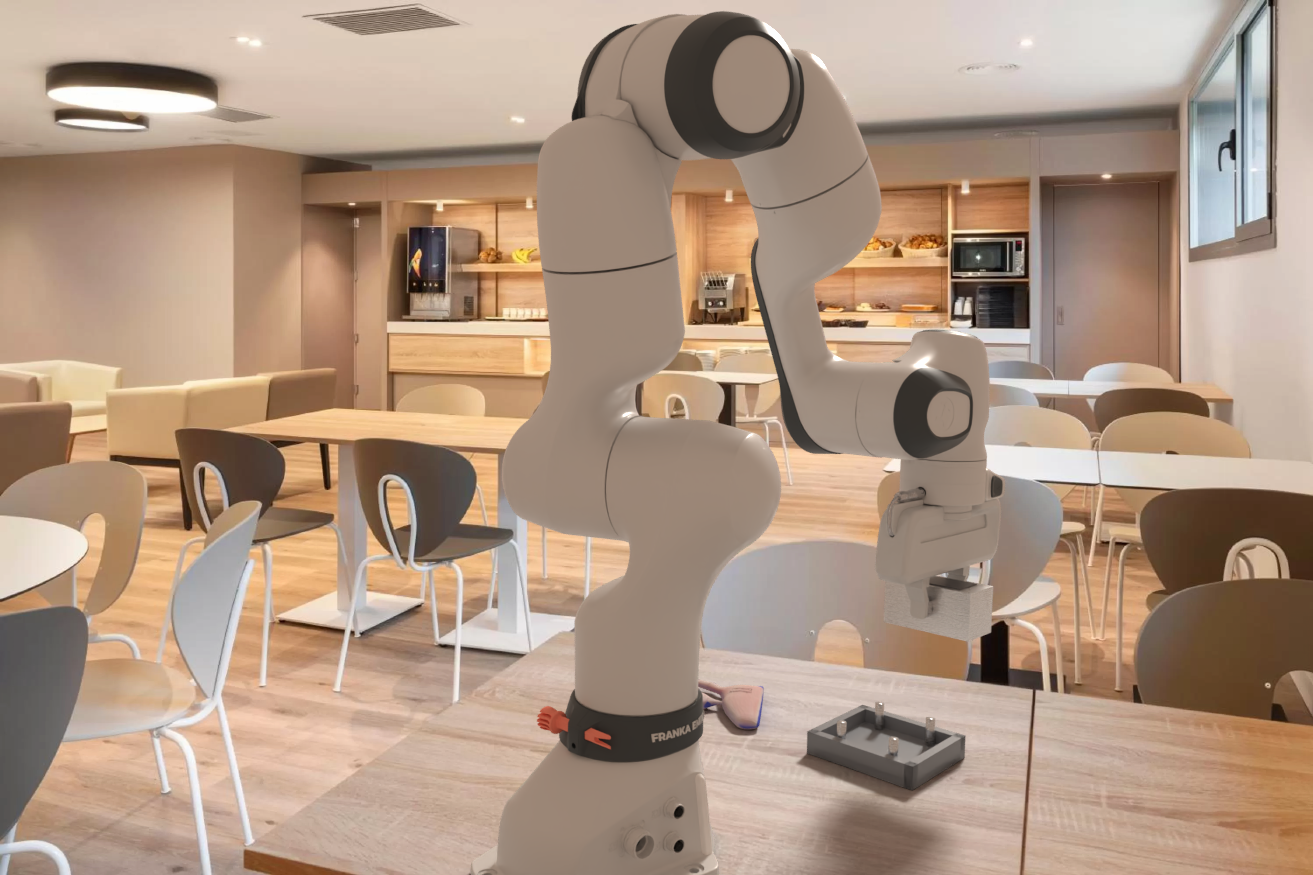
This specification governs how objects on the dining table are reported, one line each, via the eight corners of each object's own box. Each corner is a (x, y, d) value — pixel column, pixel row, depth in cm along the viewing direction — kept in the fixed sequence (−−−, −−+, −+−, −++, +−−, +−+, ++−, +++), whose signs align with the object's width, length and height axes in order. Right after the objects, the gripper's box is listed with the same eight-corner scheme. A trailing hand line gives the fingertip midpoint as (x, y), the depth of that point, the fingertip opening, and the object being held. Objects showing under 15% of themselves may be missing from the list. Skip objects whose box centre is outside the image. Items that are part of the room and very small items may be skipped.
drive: (968, 641, 108) (970, 592, 108) (883, 622, 115) (885, 576, 115) (990, 632, 112) (993, 585, 112) (907, 613, 119) (909, 569, 118)
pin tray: (912, 790, 107) (913, 752, 106) (806, 753, 116) (807, 718, 115) (964, 757, 115) (966, 722, 114) (862, 724, 124) (863, 692, 123)
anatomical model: (759, 738, 122) (765, 691, 136) (759, 714, 121) (766, 670, 136) (586, 724, 125) (611, 680, 139) (586, 701, 124) (611, 659, 139)
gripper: (918, 496, 103) (912, 636, 104) (1013, 479, 117) (1006, 601, 119) (862, 489, 107) (857, 623, 108) (960, 473, 122) (955, 591, 123)
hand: (936, 611), depth 114 cm, fingers closed on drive, 5 cm apart
